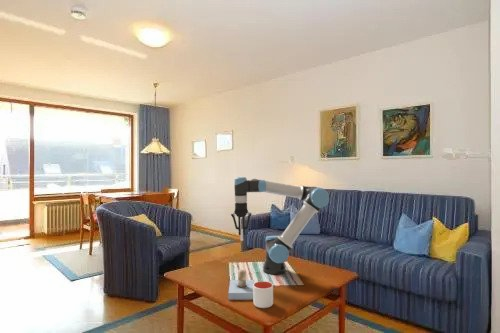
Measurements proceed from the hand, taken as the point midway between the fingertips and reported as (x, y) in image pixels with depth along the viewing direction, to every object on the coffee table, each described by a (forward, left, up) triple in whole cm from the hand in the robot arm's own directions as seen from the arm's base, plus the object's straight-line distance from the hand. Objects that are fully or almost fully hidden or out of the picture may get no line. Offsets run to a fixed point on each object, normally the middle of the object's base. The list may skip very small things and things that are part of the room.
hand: (241, 240), depth 192 cm
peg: (0, +20, -24) cm, 31 cm away
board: (0, +20, -24) cm, 31 cm away
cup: (-11, +35, -24) cm, 44 cm away
